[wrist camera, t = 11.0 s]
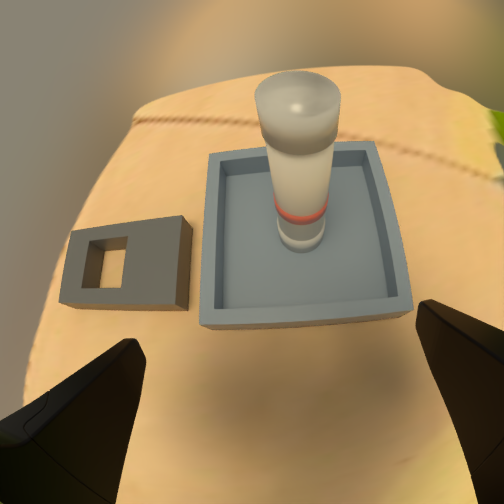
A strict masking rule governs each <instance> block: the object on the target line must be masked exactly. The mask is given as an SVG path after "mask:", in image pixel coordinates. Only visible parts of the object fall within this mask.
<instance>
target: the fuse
mask: <svg viewBox="0 0 504 504" xmlns="http://www.w3.org/2000/svg"><path fill="white" fill-rule="evenodd" d="M340 101H341V94H340V90H339V88H338V87H337V86H336V84H335V83H334V82H332V81H331V80H330V79H328V78H326V77H324V76H322V75H320V74H317V73H313V72H308V71H286V72H281V73H278V74H275V75H272V76H270V77H268V78H266V79H265V80H264V81H262V82H261V83H260V84H259V85H258V87H257V89H256V91H255V102H256V107H257V112H258V117H259V122H260V128H261V133H262V136H263V138H264V140H265V143H266V148H267V154H268V160H269V166H270V172H271V178H272V184H273V190H274V192H273V195H274V202H275V207H276V210H277V225H278V232H279V237H280V240H281V242H282V244H283V245H284V246H285V247H286V248H287V249H288V250H290V251H292V252H295V253H307V252H310V251H313V250H314V249H316V248H317V247H318V246H319V245H320V243H321V241H322V239H323V234H324V228H325V212H326V209H327V204H328V197H329V192H328V191H329V183H330V175H331V167H332V159H333V150H334V140H335V139H336V136H337V132H338V123H339V112H340Z"/></svg>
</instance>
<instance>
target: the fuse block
mask: <svg viewBox="0 0 504 504" xmlns="http://www.w3.org/2000/svg"><path fill="white" fill-rule="evenodd" d="M192 232H193V229H192V228H191V226H190V225H189V224H188V222H187V221H186V220H185V218H184V217H183V216H182V215H180V216H172V217H164V218H156V219H149V220H141V221H134V222H127V223H120V224H113V225H106V226H100V227H93V228H87V229H81V230H75V231H72V232H71V236H70V240H69V245H68V249H67V254H66V259H65V265H64V270H63V276H62V282H61V289H60V295H59V303H61V304H64V305H67V306H69V307H72V308H75V309H93V310H124V311H188V297H189V277H190V260H191V245H192ZM121 249H126V254H125V261H124V268H123V276H122V285H121V288H99V284H100V276H101V269H102V263H103V257H104V251H111V250H121Z"/></svg>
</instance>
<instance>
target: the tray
mask: <svg viewBox="0 0 504 504" xmlns="http://www.w3.org/2000/svg"><path fill="white" fill-rule="evenodd" d="M273 192H274V190H273V184H272V178H271V172H270V166H269V160H268V154H267V148H266V147H259V148H250V149H241V150H233V151H226V152H219V153H212V154H209V161H208V172H207V184H206V197H205V210H204V224H203V241H202V259H201V281H200V310H199V325H201V326H204V327H206V328H209V329H211V330H244V329H272V328H292V327H307V326H321V325H333V324H344V323H354V322H364V321H373V320H381V319H389V318H397V317H401V316H403V315H405V314H406V313H408V312H410V311H412V310H414V308H413V300H412V293H411V287H410V280H409V274H408V268H407V263H406V258H405V253H404V248H403V243H402V238H401V234H400V229H399V225H398V221H397V217H396V213H395V209H394V205H393V201H392V197H391V194H390V190H389V187H388V183H387V180H386V176H385V173H384V170H383V167H382V164H381V160H380V157H379V154H378V151H377V149H376V146H375V143H374V141H348V142H334V150H333V159H332V167H331V175H330V183H329V191H328V192H329V197H328V204H327V209H326V212H325V228H324V234H323V239H322V241H321V243H320V245H319V246H318V247H317V248H316V249H314V250H313V251H310V252H307V253H295V252H292V251H290V250H288V249H287V248H286V247H285V246H284V245H283V244H282V242H281V240H280V237H279V232H278V225H277V210H276V207H275V202H274V195H273Z"/></svg>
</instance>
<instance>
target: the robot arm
mask: <svg viewBox="0 0 504 504" xmlns="http://www.w3.org/2000/svg"><path fill="white" fill-rule="evenodd" d="M416 330H417V333H418V336H419V339H420V341H421V344H422V347H423V350H424V353H425V356H426V359H427V362H428V365H429V367H430V370H431V372H432V374H433V377H434V379H435V381H436V383H437V386H438V388H439V390H440V393H441V395H442V397H443V400H444V402H445V404H446V407H447V409H448V412H449V414H450V417H451V419H452V422H453V425H454V427H455V430H456V433H457V435H458V438H459V441H460V444H461V447H462V450H463V453H464V456H465V459H466V462H467V465H468V468H469V471H470V474H471V479H472V482H473V486H474V490H475V493H476V497H477V501H478V504H504V331H502V330H500V329H498V328H496V327H493V326H491V325H489V324H487V323H485V322H482V321H480V320H478V319H476V318H473V317H471V316H469V315H467V314H464V313H462V312H460V311H458V310H455V309H453V308H451V307H448V306H446V305H444V304H441V303H439V302H437V301H435V300H432V299H429V300H425V301H421V302H420V303H419V305H418V311H417V318H416ZM145 368H146V357H145V355H144V353H143V351H142V349H141V347H140V345H139V342H138V341H137V340H136V339H135V338H126V339H123V340H122V341H120V342H119V343H117V344H116V345H114V346H113V347H111V348H110V349H109V350H107V351H106V352H104V353H103V354H101V355H100V356H98V357H97V358H95V359H94V360H93V361H91V362H90V363H88V364H87V365H85V366H84V367H82V368H81V369H79V370H78V371H77V372H75V373H74V374H72V375H71V376H69V377H68V378H66V379H65V380H64V381H62V382H61V383H59V384H58V385H56V386H55V387H53V388H52V389H50V391H47V392H46V393H45V394H43V395H42V396H40V397H39V398H37V399H36V400H34V401H33V402H31V403H30V404H28V405H26V406H25V407H23V408H21V409H20V410H18V411H16V412H15V413H13V414H11V415H9V416H8V417H6V418H4V419H2V420H1V421H0V504H116V498H117V493H118V489H119V484H120V479H121V475H122V470H123V466H124V461H125V457H126V453H127V449H128V444H129V440H130V436H131V432H132V429H133V425H134V421H135V417H136V413H137V410H138V406H139V402H140V397H141V391H142V385H143V379H144V373H145Z"/></svg>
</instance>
